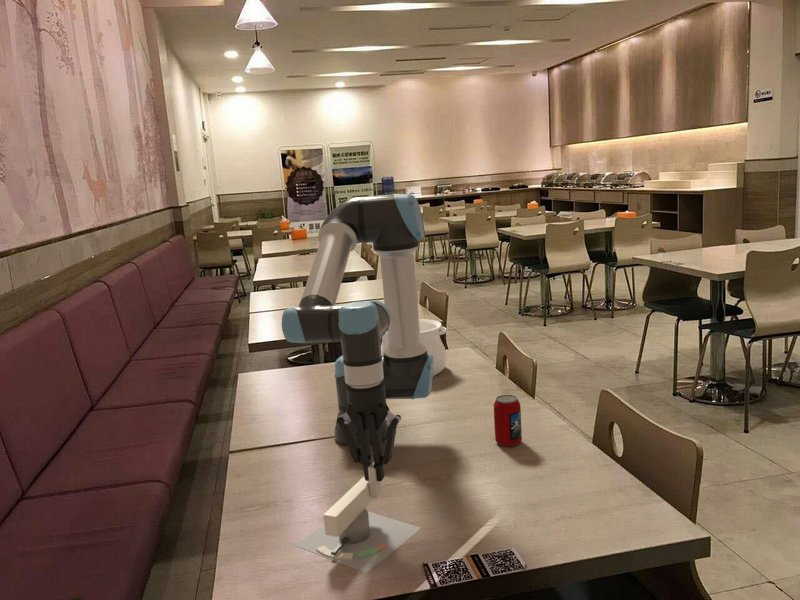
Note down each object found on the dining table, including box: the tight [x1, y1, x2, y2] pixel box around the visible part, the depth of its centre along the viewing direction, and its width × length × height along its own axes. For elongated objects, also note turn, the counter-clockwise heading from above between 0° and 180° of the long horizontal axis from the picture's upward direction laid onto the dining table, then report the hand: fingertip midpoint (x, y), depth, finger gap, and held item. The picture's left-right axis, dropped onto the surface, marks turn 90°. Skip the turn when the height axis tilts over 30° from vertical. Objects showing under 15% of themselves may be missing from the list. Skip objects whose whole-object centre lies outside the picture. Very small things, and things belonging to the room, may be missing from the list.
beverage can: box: [493, 394, 523, 448], centre depth 166 cm, size 7×7×12 cm
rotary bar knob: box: [323, 476, 376, 555], centre depth 126 cm, size 6×16×8 cm, turn 156°
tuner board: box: [293, 510, 422, 574], centre depth 127 cm, size 18×17×2 cm
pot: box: [381, 318, 447, 377], centre depth 233 cm, size 26×24×17 cm
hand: (376, 495), depth 131 cm, fingers closed
